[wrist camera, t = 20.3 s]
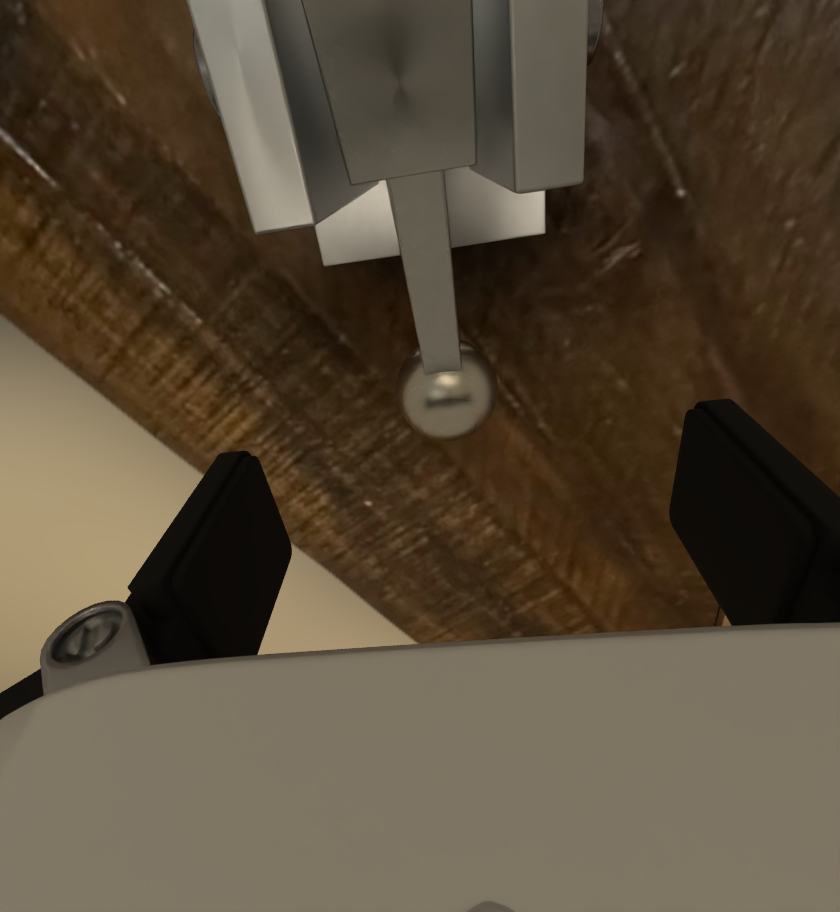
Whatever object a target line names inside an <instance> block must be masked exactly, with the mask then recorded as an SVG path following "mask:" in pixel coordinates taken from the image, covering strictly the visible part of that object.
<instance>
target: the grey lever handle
mask: <svg viewBox="0 0 840 912" xmlns="http://www.w3.org/2000/svg"><path fill="white" fill-rule="evenodd" d="M301 2H302V6H303V10H304V14H305V17H306V21H307V25H308V29H309V32H310V36H311V40H312V44H313V47H314V51H315V55H316V59H317V63H318V66H319V70H320V74H321V78H322V81H323V85H324V89H325V93H326V96H327V100H328V104H329V108H330V112H331V115H332V119H333V123H334V127H335V130H336V134H337V138H338V142H339V145H340V149H341V153H342V157H343V160H344V164H345V168H346V172H347V176H348V179H349V182H350V184H351V185H356V184H362V183H368V182H374V181H380V180H386V184H387V189H388V194H389V199H390V204H391V209H392V214H393V219H394V224H395V229H396V234H397V239H398V244H399V249H400V254H401V259H402V264H403V269H404V274H405V279H406V284H407V289H408V294H409V299H410V305H411V310H412V315H413V320H414V325H415V330H416V335H417V340H418V345H419V347H417V348H416V349H415V350H414V351H413V352H412V353H411V354H410V355H409V356H408V357H407V358H406V360H405V361H404V363H403V364H402V366H401V368H400V371H399V373H398V377H397V381H396V398H397V403H398V406H399V409H400V411H401V413H402V415H403V417H404V418H405V420H406V421H407V423H408V424H409V425H410V426H411V427H412V428H413V429H415V430H416V431H417V432H419V433H420V434H422V435H424V436H426V437H428V438H431V439H435V440H441V441H453V440H458V439H462V438H465V437H467V436H469V435H471V434H473V433H474V432H476V431H477V430H479V429H480V428H481V427H482V426H483V425H484V424H485V423H486V422H487V420H488V419H489V417H490V416H491V414H492V412H493V410H494V408H495V405H496V401H497V395H498V383H497V377H496V373H495V370H494V368H493V366H492V364H491V362H490V361H489V359H488V358H487V357H486V356H485V354H484V353H483V352H482V351H481V350H479V349H478V348H477V347H475V346H474V345H472V344H470V343H468V342H466V341H463V340H460V336H459V325H458V314H457V303H456V292H455V281H454V270H453V259H452V248H451V238H450V227H449V216H448V205H447V194H446V183H445V172H444V170H448V169H454V168H460V167H466V166H472V165H476V164H477V161H478V157H477V126H476V95H475V64H474V33H473V1H472V0H301Z"/></svg>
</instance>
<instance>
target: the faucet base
mask: <svg viewBox="0 0 840 912" xmlns="http://www.w3.org/2000/svg"><path fill="white" fill-rule="evenodd" d="M186 1H187V4H188V8H189V11H190V15H191V18H192V22H193V25H194V31H193V43H194V51H195V56H196V61H197V65H198V69H199V73H200V76H201V79H202V82H203V85H204V88H205V90H206V93H207V95H208V98H209V100H210V102H211V104H212V106H213V108H214V110H215V112H216V114H217V115H218V117H219V118H220V120H221V121H222V124H223V127H224V131H225V134H226V138H227V141H228V145H229V148H230V151H231V155H232V158H233V162H234V165H235V168H236V172H237V175H238V179H239V182H240V186H241V189H242V192H243V196H244V199H245V203H246V206H247V209H248V213H249V216H250V220H251V223H252V227H253V230H254V232H255V234H257V235H262V234H269V233H275V232H281V231H288V230H294V229H300V228H307V227H313V226H314V227H315V232H316V236H317V240H318V245H319V249H320V253H321V257H322V262H323V265H324V266H332V265H339V264H345V263H352V262H359V261H366V260H372V259H379V258H386V257H393V256H399V255H401V254H400V249H399V244H398V239H397V234H396V229H395V224H394V219H393V214H392V209H391V204H390V199H389V194H388V189H387V184H386V180H380V181H374V182H368V183H362V184H356V185H351V184H350V182H349V179H348V176H347V172H346V168H345V164H344V160H343V157H342V153H341V149H340V145H339V142H338V138H337V134H336V130H335V127H334V123H333V119H332V115H331V112H330V108H329V104H328V100H327V96H326V93H325V89H324V85H323V81H322V78H321V74H320V70H319V66H318V63H317V59H316V55H315V51H314V47H313V44H312V40H311V36H310V32H309V29H308V25H307V21H306V17H305V14H304V10H303V6H302V2H301V0H186ZM472 1H473V33H474V64H475V95H476V126H477V157H478V161H477V164H476V165H472V166H466V167H460V168H454V169H448V170H444V172H445V183H446V194H447V205H448V216H449V227H450V238H451V248H453V247H460V246H467V245H473V244H480V243H487V242H493V241H500V240H507V239H514V238H520V237H527V236H534V235H541V234H545V233H546V198H545V190H549V189H556V188H562V187H569V186H575V185H580V184H581V183H582V182H583V180H584V151H585V115H586V79H587V66H588V65H590V64H591V62H592V61H593V59H594V56H595V53H596V50H597V46H598V42H599V38H600V33H601V27H602V19H603V9H604V0H472Z"/></svg>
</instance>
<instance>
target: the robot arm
mask: <svg viewBox="0 0 840 912" xmlns="http://www.w3.org/2000/svg"><path fill="white" fill-rule="evenodd" d="M669 515H670V521H671V524H672V526H673V528H674V530H675V531H676V533H677V535H678V537H679V538H680V540H681V542H682V543H683V545H684V547H685V548H686V550H687V552H688V553H689V555H690V557H691V558H692V560H693V562H694V563H695V565H696V567H697V568H698V570H699V572H700V573H701V575H702V577H703V578H704V580H705V582H706V583H707V585H708V587H709V589H710V590H711V592H712V594H713V595H714V597H715V599H716V600H717V602H718V604H719V605H720V607H721V609H722V610H723V612H724V614H725V615H726V617H727V619H728V620H729V622H730V624H731V625H732V626H719V627H697V628H680V629H662V630H644V631H627V632H609V633H592V634H574V635H557V636H540V637H524V638H508V639H492V640H475V641H459V642H444V643H428V644H413V645H397V646H381V647H367V648H352V649H337V650H323V651H308V652H293V653H279V654H265V655H257V654H258V651H259V648H260V645H261V642H262V639H263V637H264V634H265V631H266V628H267V625H268V622H269V619H270V617H271V614H272V611H273V608H274V605H275V602H276V599H277V597H278V594H279V591H280V588H281V585H282V582H283V579H284V576H285V574H286V571H287V568H288V565H289V562H290V559H291V555H292V547H291V542H290V540H289V537H288V534H287V532H286V529H285V526H284V524H283V521H282V519H281V516H280V513H279V511H278V508H277V506H276V503H275V500H274V498H273V495H272V493H271V490H270V487H269V485H268V482H267V479H266V477H265V474H264V472H263V469H262V466H261V464H260V461H259V459H258V458H257V457H256V456H251V455H250V454H249V452H247V451H236V452H227V453H220V454H219V455H218V456H217V458H216V459H215V461H214V462H213V464H212V465H211V466H210V468H209V469H208V471H207V472H206V474H205V475H204V477H203V478H202V480H201V481H200V483H199V484H198V485H197V487H196V488H195V490H194V491H193V493H192V494H191V496H190V497H189V498H188V500H187V501H186V503H185V504H184V506H183V507H182V509H181V510H180V512H179V513H178V515H177V516H176V517H175V519H174V520H173V522H172V523H171V525H170V526H169V528H168V529H167V530H166V532H165V533H164V535H163V536H162V538H161V539H160V541H159V542H158V544H157V545H156V547H155V548H154V549H153V551H152V552H151V554H150V555H149V557H148V558H147V560H146V561H145V563H144V564H143V565H142V567H141V568H140V570H139V571H138V573H137V574H136V576H135V577H134V579H133V580H132V582H131V583H130V585H129V586H128V589H129V590H130V592H131V594H130V596H129V597H128V599H127V600H126V602H125V603H124V602H121V601H105V602H101V603H97V604H94V605H92V606H89V607H87V608H85V609H83V610H81V611H79V612H77V613H76V614H74V615H73V616H71V617H69V618H68V619H67V620H66V621H64V622H63V623H62V624H61V625H60V626H58V627H57V628H56V629H55V631H54V632H53V633H52V634H51V635H50V636H49V637H48V639H47V640H46V642H45V644H44V646H43V648H42V650H41V656H40V665H41V669H39V670H38V671H36V672H34V673H33V674H31V675H29V676H28V677H26V678H24V679H23V680H21V681H20V682H18V683H16V684H15V685H13V686H11V687H10V688H8V689H6V690H5V691H3V692H1V693H0V912H840V497H839V496H837V495H836V494H835V493H834V492H833V491H832V490H831V489H830V488H829V487H828V486H826V485H825V484H824V483H823V482H822V481H821V480H820V479H819V478H818V477H817V476H815V475H814V474H813V473H812V472H811V471H810V470H809V469H808V468H807V467H805V466H804V465H803V464H802V463H801V462H800V461H799V460H798V459H797V458H796V457H794V456H793V455H792V454H791V453H790V452H789V451H788V450H787V449H786V448H785V447H783V446H782V445H781V444H780V443H779V442H778V441H777V440H776V439H775V438H773V437H772V436H771V435H770V434H769V433H768V432H767V431H766V430H765V429H764V428H762V427H761V426H760V425H759V424H758V423H757V422H756V421H755V420H754V419H753V418H751V417H750V416H749V415H748V414H747V413H746V412H745V411H744V410H743V409H741V408H740V407H739V406H738V405H737V404H736V403H735V402H734V401H732V400H731V399H720V400H711V401H702V402H698V403H697V404H696V405H695V407H694V409H691V410H688V411H687V413H686V415H685V420H684V426H683V432H682V438H681V444H680V450H679V456H678V462H677V468H676V473H675V479H674V485H673V491H672V497H671V503H670V510H669Z"/></svg>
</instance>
